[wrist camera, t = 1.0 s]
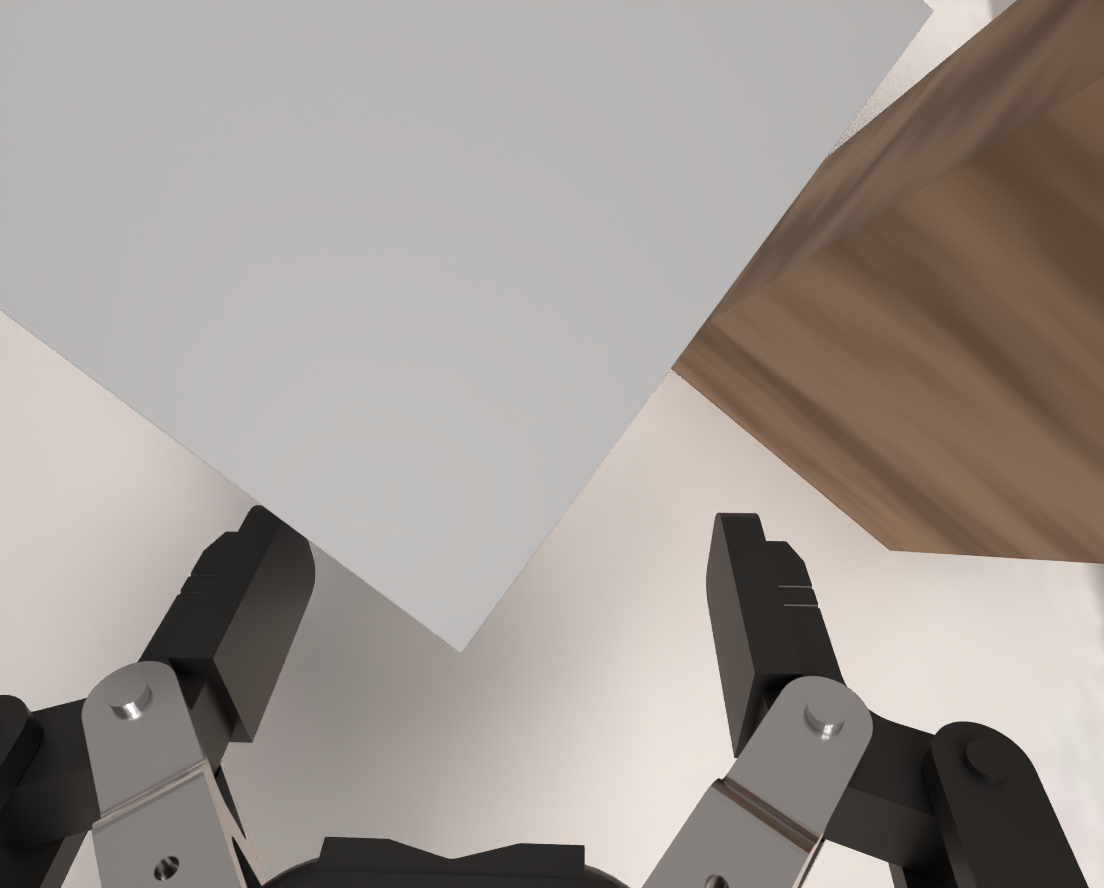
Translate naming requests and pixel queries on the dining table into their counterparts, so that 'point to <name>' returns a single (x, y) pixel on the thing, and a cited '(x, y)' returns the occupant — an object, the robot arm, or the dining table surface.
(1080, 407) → the walnut shelf
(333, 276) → the grey step block
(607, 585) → the dining table surface
